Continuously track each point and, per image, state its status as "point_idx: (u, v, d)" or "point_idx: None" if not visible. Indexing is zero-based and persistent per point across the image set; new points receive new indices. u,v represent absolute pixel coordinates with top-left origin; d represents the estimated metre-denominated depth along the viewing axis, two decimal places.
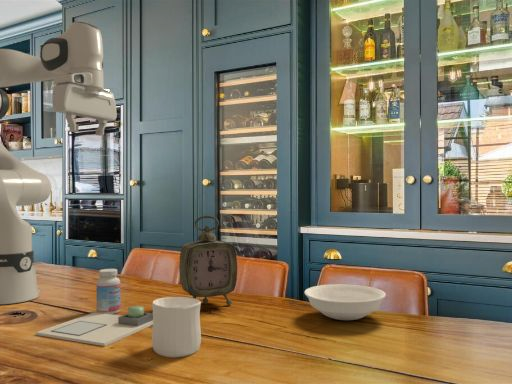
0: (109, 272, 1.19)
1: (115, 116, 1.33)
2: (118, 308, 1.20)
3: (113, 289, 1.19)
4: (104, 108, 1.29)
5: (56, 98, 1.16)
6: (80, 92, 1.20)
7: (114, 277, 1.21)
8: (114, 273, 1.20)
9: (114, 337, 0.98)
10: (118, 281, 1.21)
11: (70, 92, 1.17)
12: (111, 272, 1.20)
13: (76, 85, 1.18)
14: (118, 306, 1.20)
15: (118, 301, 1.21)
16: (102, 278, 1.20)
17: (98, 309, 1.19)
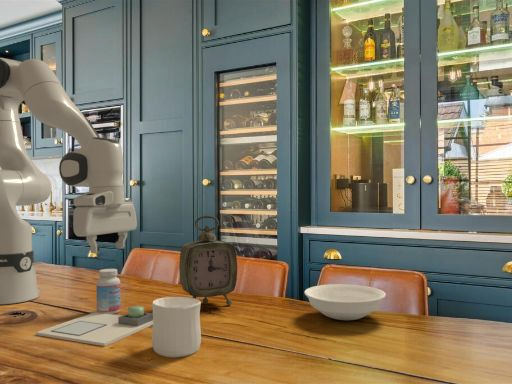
0: (109, 272, 1.19)
1: (135, 225, 1.29)
2: (118, 308, 1.20)
3: (113, 289, 1.19)
4: (125, 221, 1.25)
5: (77, 223, 1.12)
6: (101, 212, 1.16)
7: (114, 277, 1.21)
8: (114, 273, 1.20)
9: (114, 337, 0.98)
10: (118, 281, 1.21)
11: (91, 215, 1.13)
12: (111, 272, 1.20)
13: (97, 207, 1.14)
14: (118, 306, 1.20)
15: (118, 301, 1.21)
16: (102, 278, 1.20)
17: (98, 309, 1.19)
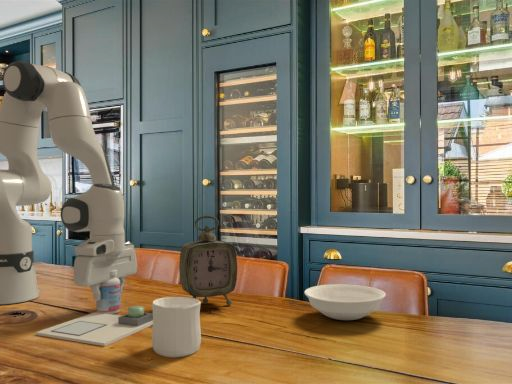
0: None
1: (136, 269, 1.29)
2: (118, 308, 1.20)
3: (113, 289, 1.19)
4: (125, 266, 1.25)
5: (77, 273, 1.12)
6: (101, 260, 1.17)
7: (114, 277, 1.21)
8: (114, 273, 1.20)
9: (114, 337, 0.98)
10: (118, 281, 1.21)
11: (92, 265, 1.13)
12: (111, 272, 1.20)
13: (98, 257, 1.14)
14: (118, 306, 1.20)
15: (118, 301, 1.21)
16: None
17: (98, 309, 1.19)
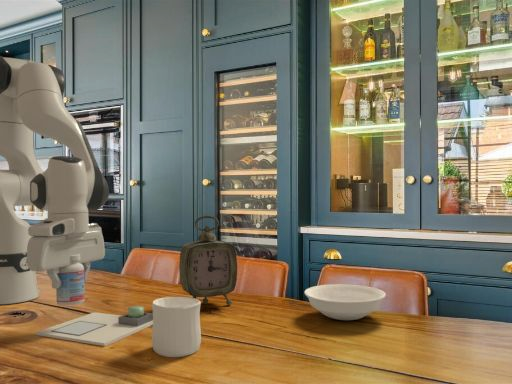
0: (70, 257, 1.05)
1: (103, 254, 1.14)
2: (81, 298, 1.06)
3: (75, 276, 1.04)
4: (90, 250, 1.10)
5: (31, 256, 0.98)
6: (60, 242, 1.02)
7: (76, 263, 1.06)
8: (76, 258, 1.05)
9: (114, 337, 0.98)
10: (81, 267, 1.06)
11: (47, 247, 0.99)
12: (72, 257, 1.05)
13: (55, 237, 1.00)
14: (81, 296, 1.06)
15: (82, 290, 1.06)
16: None
17: (58, 299, 1.04)
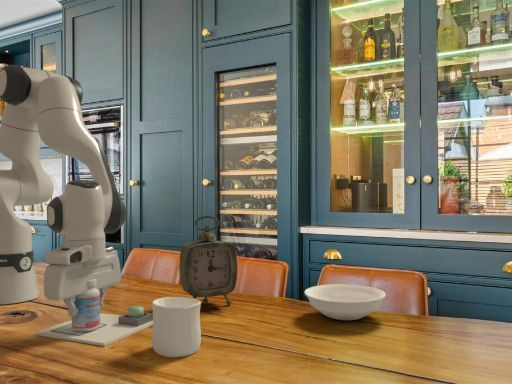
0: None
1: (119, 279, 1.12)
2: (97, 324, 1.04)
3: (91, 302, 1.02)
4: (106, 275, 1.08)
5: (48, 285, 0.96)
6: (77, 269, 1.00)
7: (92, 288, 1.04)
8: (92, 283, 1.03)
9: (114, 337, 0.98)
10: (97, 293, 1.04)
11: (65, 276, 0.97)
12: (89, 282, 1.03)
13: (72, 265, 0.98)
14: (97, 321, 1.04)
15: (97, 316, 1.04)
16: None
17: (73, 325, 1.02)
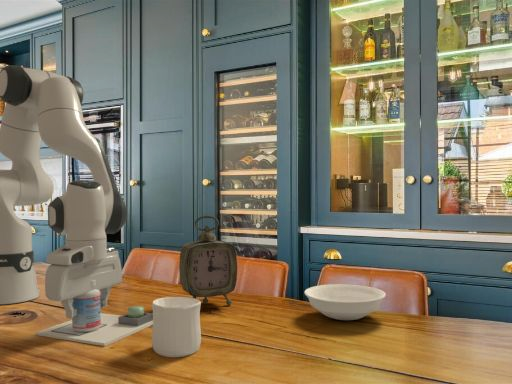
0: None
1: (120, 279, 1.12)
2: (97, 324, 1.04)
3: (91, 302, 1.02)
4: (108, 276, 1.08)
5: (49, 286, 0.96)
6: (78, 270, 1.00)
7: None
8: (92, 283, 1.03)
9: (114, 337, 0.98)
10: (97, 293, 1.04)
11: (66, 276, 0.97)
12: None
13: (74, 266, 0.98)
14: (97, 322, 1.04)
15: (98, 316, 1.04)
16: None
17: (74, 325, 1.02)
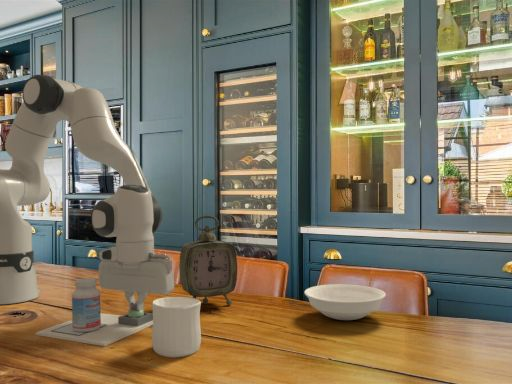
0: (86, 282, 1.03)
1: (163, 290, 1.05)
2: (97, 324, 1.04)
3: (92, 302, 1.02)
4: (147, 281, 1.06)
5: None
6: (116, 267, 1.10)
7: (93, 288, 1.04)
8: (92, 283, 1.03)
9: (114, 337, 0.98)
10: (97, 293, 1.04)
11: (105, 269, 1.11)
12: (89, 282, 1.03)
13: (107, 262, 1.10)
14: (97, 322, 1.04)
15: (98, 316, 1.04)
16: (78, 289, 1.03)
17: (74, 325, 1.02)
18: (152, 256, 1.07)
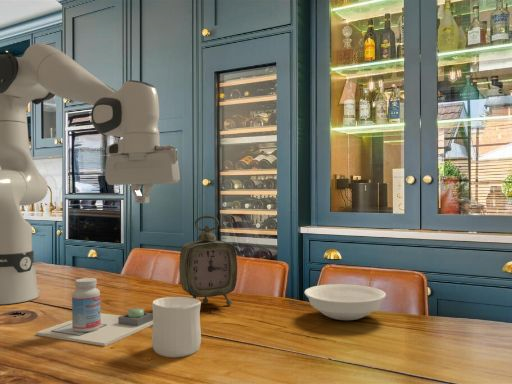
0: (86, 282, 1.03)
1: (168, 178, 1.07)
2: (97, 324, 1.04)
3: (92, 302, 1.02)
4: (153, 172, 1.09)
5: None
6: (122, 161, 1.13)
7: (93, 288, 1.04)
8: (92, 283, 1.03)
9: (114, 337, 0.98)
10: (97, 293, 1.04)
11: (111, 164, 1.14)
12: (89, 282, 1.03)
13: (114, 156, 1.13)
14: (97, 322, 1.04)
15: (98, 316, 1.04)
16: (78, 289, 1.03)
17: (74, 325, 1.02)
18: (158, 148, 1.10)
